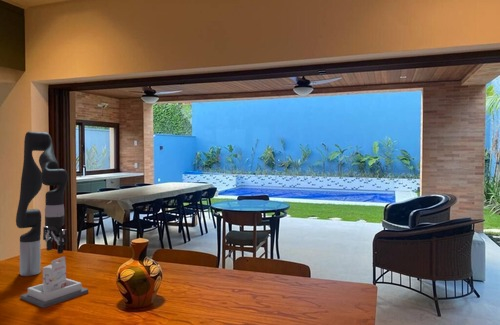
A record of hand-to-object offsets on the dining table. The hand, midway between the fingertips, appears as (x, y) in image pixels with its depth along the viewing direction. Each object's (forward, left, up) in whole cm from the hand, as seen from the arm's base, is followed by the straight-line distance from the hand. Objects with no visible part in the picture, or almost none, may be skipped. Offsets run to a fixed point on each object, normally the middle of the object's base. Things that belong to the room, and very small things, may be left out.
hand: (54, 251), depth 163 cm
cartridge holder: (0, 0, -19) cm, 19 cm away
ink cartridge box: (0, 0, -18) cm, 18 cm away
